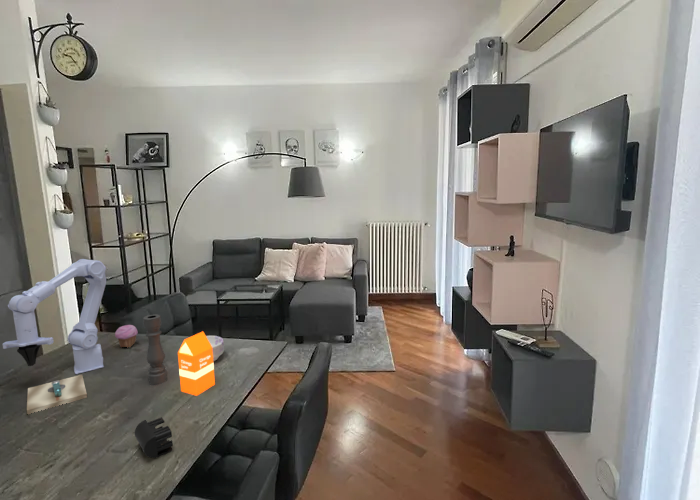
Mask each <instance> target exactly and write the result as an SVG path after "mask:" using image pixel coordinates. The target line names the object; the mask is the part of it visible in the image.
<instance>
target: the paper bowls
mask: <svg viewBox="0 0 700 500" xmlns="http://www.w3.org/2000/svg"><path fill="white" fill-rule="evenodd" d="M206 337H207V339H208V341H209V343H210V344H211V346H212V350H213V362H215V361H216V360H218V359H219V357H220V356H221V355H222V354H223V353H224V351H225V342H224V341H225V340H224V339H223V337H221V336H219V335H218V336H217V335H206Z"/></svg>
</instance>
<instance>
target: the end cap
mask: <svg viewBox="0 0 700 500" xmlns="http://www.w3.org/2000/svg"><path fill="white" fill-rule="evenodd" d="M165 423H166V422H165V420H164V418H163V417H162V416H161V417H159V418H156V419H153V420H151V421H147V419H144V420H142V421H141V422H139V423H138V424H137V426H136V428H135V429H134V436H135V438H136V440H137V442H138V445H139V446H140V448H141V450H142V451H143V453H144V455H145V456H146V457H148V458H152V459H157V458H160V457H162V456H165V455H167V454H169V453H171V452H173V451H174V450H173V440H171V439H170V440H169V438H172V436H173V433H172V430H171V428H170V427H169V426H168V425H166V426H164V427H163V425H161V424H165ZM158 426H159V427H158Z"/></svg>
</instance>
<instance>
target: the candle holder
mask: <svg viewBox="0 0 700 500" xmlns="http://www.w3.org/2000/svg"><path fill="white" fill-rule="evenodd" d="M142 319H143V328H144V329H145V330H146V332H145V336H146V338H147V339H148V340H147V341H148V347H147V353H146V361H147V363H148V364H149V366H150V367H149V368H148V375H147V376H148V377H147V378H148V383H149V385H152V386H156V385H157V386H158V385H161V384H164V383H165V382H167V380H168V373H167V369H166V366H165V365H164V364H163V363H164V361H165V359H166V354H165V351H164V349H163V346H162V343H161V334H162V330H160V328H161V326H162V318H161V314H156V313H155V314H148V315H146V316H143V318H142Z"/></svg>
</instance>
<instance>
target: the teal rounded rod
mask: <svg viewBox="0 0 700 500" xmlns="http://www.w3.org/2000/svg"><path fill="white" fill-rule="evenodd" d="M51 382H52V383H51V384H52V389H54V393H55V396H60V395H62V393H61V387H60V386H61V385H60V381H59V380H58V379H57V380H54V381H51Z"/></svg>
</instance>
